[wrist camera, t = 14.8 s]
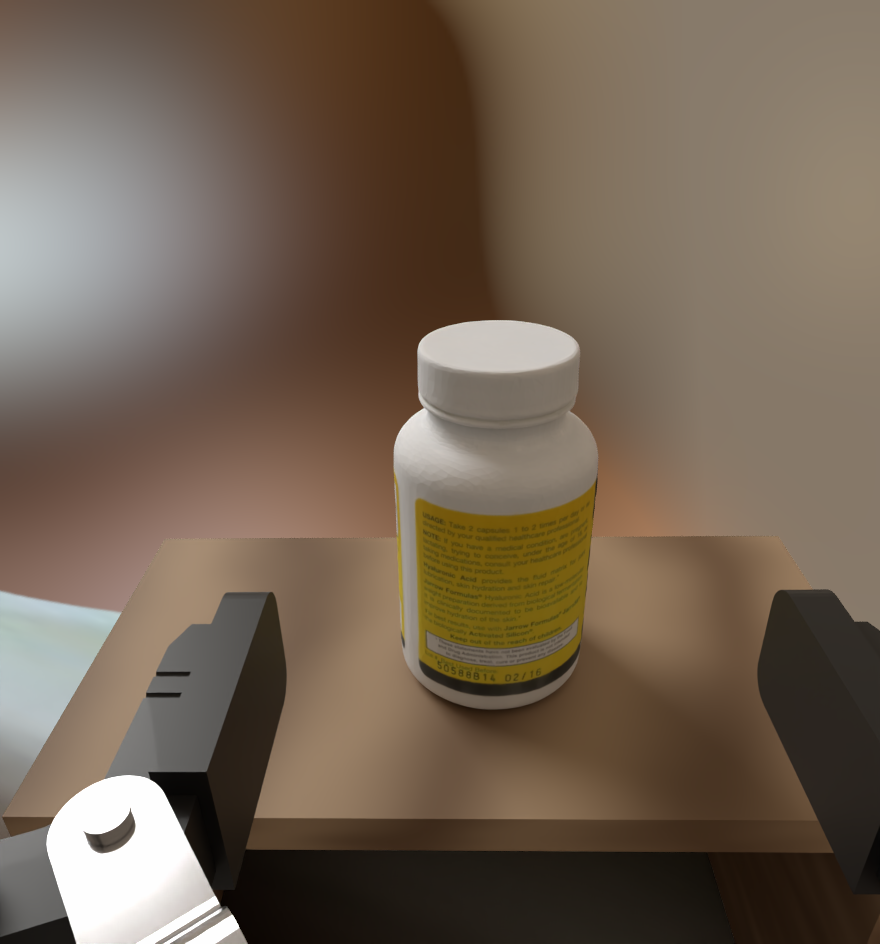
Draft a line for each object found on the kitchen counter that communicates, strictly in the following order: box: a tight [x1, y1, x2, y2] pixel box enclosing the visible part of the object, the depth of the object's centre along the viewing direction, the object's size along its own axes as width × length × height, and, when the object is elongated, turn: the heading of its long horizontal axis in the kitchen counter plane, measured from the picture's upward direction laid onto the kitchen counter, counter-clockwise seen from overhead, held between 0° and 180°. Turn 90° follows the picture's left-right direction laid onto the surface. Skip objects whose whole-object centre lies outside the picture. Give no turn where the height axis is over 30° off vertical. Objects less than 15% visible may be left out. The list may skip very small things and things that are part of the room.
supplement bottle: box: [394, 320, 598, 710], centre depth 21 cm, size 5×5×10 cm
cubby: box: [2, 536, 880, 944], centre depth 27 cm, size 23×12×15 cm, turn 89°
